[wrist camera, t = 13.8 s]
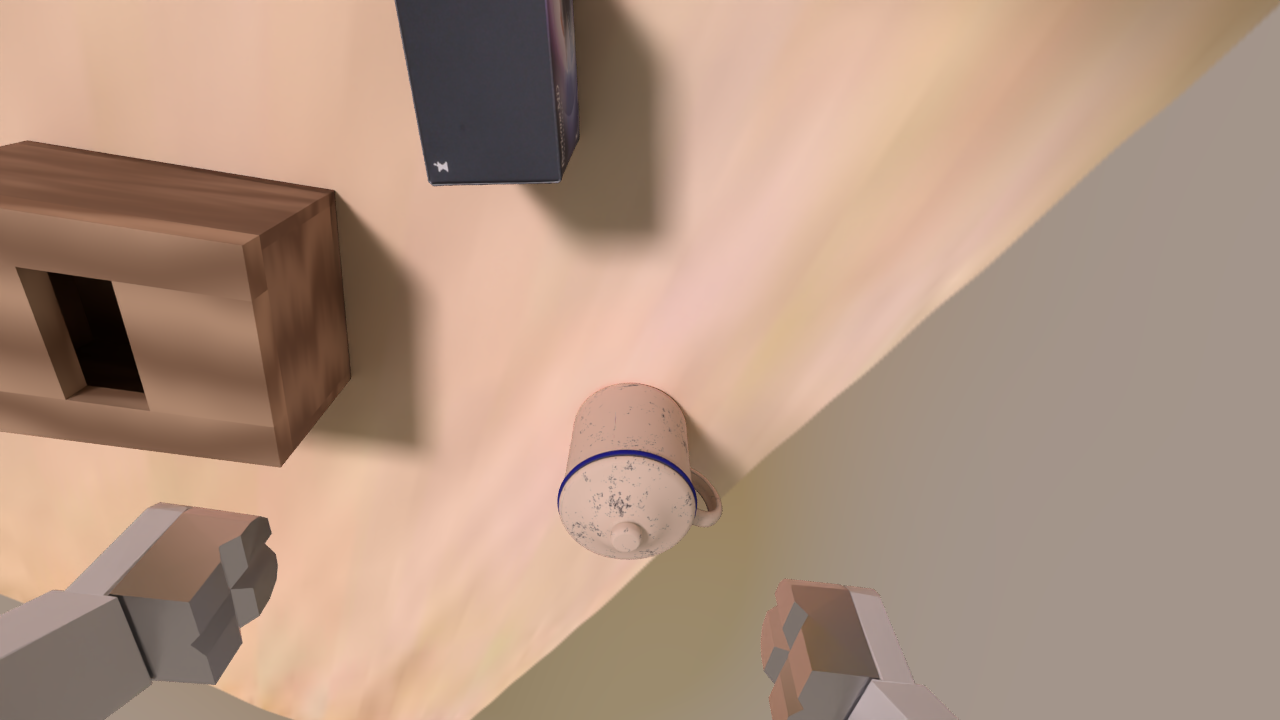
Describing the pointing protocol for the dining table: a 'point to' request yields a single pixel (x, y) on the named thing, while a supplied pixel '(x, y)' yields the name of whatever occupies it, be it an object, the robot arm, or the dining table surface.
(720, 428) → the dining table surface
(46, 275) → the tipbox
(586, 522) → the teacup with lid
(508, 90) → the small box
